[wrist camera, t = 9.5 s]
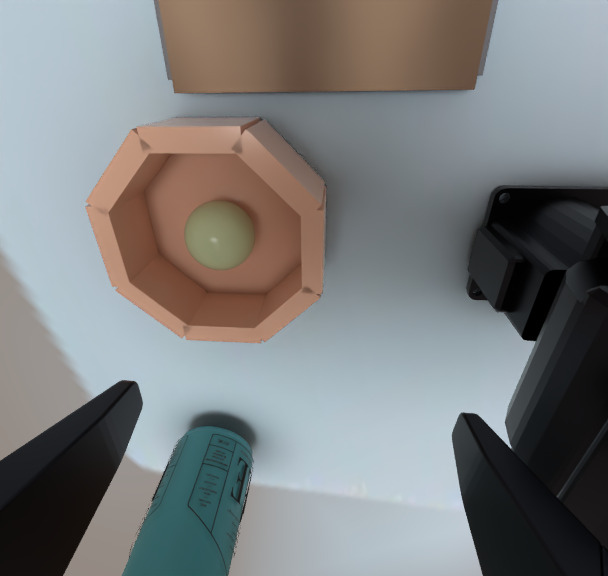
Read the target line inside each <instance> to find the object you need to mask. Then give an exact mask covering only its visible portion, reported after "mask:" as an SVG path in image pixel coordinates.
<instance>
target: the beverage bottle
mask: <svg viewBox="0 0 608 576" xmlns="http://www.w3.org/2000/svg"><path fill="white" fill-rule="evenodd" d="M178 441H179V440H178ZM178 441H177V442H178ZM175 447H176V446H175ZM172 455H173V456H172ZM170 456H171V458H170V459H171V460H170V461H168V464H166V465H167V466H166V469H165V471H163V473H164V474H163V476H162V478H161V480H160V483H159V485H158V487H157V490H156V492H155V494H154V497H153V498H152V501H153V503H152V505H151V507H150V510H149V512H148V514H147V517H146V519H145V521H144V522H143V526H142V528H141V529H140V533H139V535H138V537H137V540H136V541H135V545H134V547H133V549H132V552H131V555H130V556H129V560H128V562H127V565H126V567H125V569H124V572H123V574H122V576H228V574H229V569H230V565H231V560H232V555H233V553H234V546H235V542H236V537H237V532H238V528H239V525H240V522H241V519H242V515H243V514H244V509H245V505H246V499H247V495H248V491H247V494H246V490H247V486H248V481H249V476H250V474H251V467H252V466H253V465H252V462H253V463H254V461H253V457H252V450H251V448H250V446H249V444H248V443H247V442H246V441H245V440H244V439H243V438H242V437H240V436H239V435H237V434H236V433H234V432H232V431H229V430H226V429H223V428H219V427H211V426H204V427H198V428H194V429H192V430H190V431H188V432H187V433H186V434H185V435H184V436H183V437H182V438H181V440H180V441H179V442H178V444H177V447H176V449H175V450H174V448H173V454H171V455H170ZM169 462H170V463H169ZM252 468H253V467H252ZM252 471H253V469H252ZM251 476H252V475H251ZM250 481H251V478H250ZM249 485H250V482H249ZM248 490H249V487H248ZM245 497H246V499H245ZM244 500H245V503H244ZM243 504H244V507H243ZM148 509H149V508H148ZM242 509H243V510H242ZM234 554H235V553H234Z"/></svg>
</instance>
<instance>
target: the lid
mask: <svg viewBox="0 0 608 576" xmlns="http://www.w3.org/2000/svg"><path fill="white" fill-rule="evenodd" d="M492 1H493V0H158V2H159V7H160V13H161V19H162V25H163V30H164V36H165V42H166V47H167V53H168V59H169V64H170V70H171V76H172V81H173V87H174V93H230V92H313V91H396V90H474V89H475V84H476V79H477V74H478V70H479V65H480V60H481V55H482V50H483V45H484V40H485V35H486V31H487V26H488V21H489V16H490V11H491V6H492Z"/></svg>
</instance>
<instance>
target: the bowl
mask: <svg viewBox="0 0 608 576" xmlns="http://www.w3.org/2000/svg"><path fill="white" fill-rule="evenodd" d="M324 184H325V181H324V180H323V179H322V178H321V177H320V176H319V175H318V174H317V173H316V172H315V171H314V170H313V169H312V168H311V167H310V166H309V165H308V163H307V162H306V161H305V160H304V159H303V158H302V157H301V156H300V155H299V154H298V153H297V152H296V151H295V150H294V149H293V148H292V147H291V146H290V145H289V144H288V143H287V142H286V141H285V139H284V138H283V137H282V136H281V135H280V134H279V133H278V132H277V131H276V130H275V129H274V128H273V127H272V126H271V125H270V124H269V123H268V122H267V121H266V120H265V119H264V120H262V121H260V117H176V118H171V119H167V120H163V121H159V122H154V123H150V124H146V125H142V126H138V127H137V128H135V129H131V131H130V133H129V134H128V136H127V137H126V139H125V140H124V142H123V144H122V145H121V147H120V148H119V150H118V151H117V153H116V155H115V156H114V158H113V159H112V161H111V162H110V164H109V166H108V167H107V169H106V170H105V172H104V173H103V175H102V177H101V178H100V180H99V181H98V183H97V184H96V186H95V188H94V189H93V191H92V192H91V194H90V195H89V197H88V199H87V200H86V202H87V203H88V204H89V205H88V206H86V210H87V213H88V216H89V219H90V222H91V225H92V228H93V231H94V234H95V237H96V240H97V243H98V246H99V249H100V252H101V255H102V258H103V261H104V264H105V267H106V270H107V273H108V275H109V278H110V281H111V284H112V287H118V288H117V289H116V290H115V291H117V292H118V293H119V294H121V295H122V296H124V297H125V298H126V299H128V300H129V301H131V302H132V303H133V304H135V305H136V306H138V307H139V308H140V309H142V310H143V311H145V312H146V313H147V314H149V315H150V316H152V317H153V318H154V319H156V320H157V321H159V322H160V323H161V324H163V325H164V326H165V327H167V328H168V329H170V330H171V331H172V332H174V333H175V334H177V335H178V336H179V337H181V338H183V337H184V336H185V337H186V340H202V341H223V342H245V343H261V341H262V340H263V341H264V342H266V341H267V340H268V339H269V338H271V337H272V336H273V335H274V334H276V333H277V332H278V331H279V330H281V329H282V328H283V327H284V326H286V325H287V324H288V323H289V322H291V321H292V320H293V319H294V318H296V317H297V316H298V315H299V314H301V313H302V312H303V311H304V310H306V309H307V308H308V307H309V306H311V305H312V304H313V303H314V302H316V301H317V300H318V299H319V298H320V296H321V294H322V292H323V279H324V266H325V239H326V192H327V186H324Z"/></svg>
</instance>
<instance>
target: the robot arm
mask: <svg viewBox="0 0 608 576" xmlns="http://www.w3.org/2000/svg"><path fill="white" fill-rule="evenodd" d="M504 193H507V196H506V198H505V199H504V200H502V201H499V197H500V196H501V195H502V194H504ZM468 271H469V273H470V278H469V282H468V286H467V293H468V295H469V297H470V298H471V299H474V300H488V301H489V302H490V304H491V305H492V307H493V308H494V309H495V310H496V311H497V312H502V313H505V315H506V316H507V318H508V319H509V320H510V322H511V323H512V325H513V326H514V327H515V329H516V330H517V332H518V333H519V334H520V336H521V337H522V338H523V340H527V341H536V343H535V345H534V348H533V350H532V352H531V355H530V357H529V359H528V362H527V364H526V366H525V369H524V371H523V373H522V376H521V378H520V380H519V383H518V385H517V387H516V390H515V392H514V394H513V397H512V399H511V401H510V404H509V406H508V410H507V415H506V419H505V425H506V429H507V433H508V437H509V442H510V444H511V446H512V448H511V449H510V448H509V447H508V445H507V444H506V443H505V442H504V441H503V440H502V439H501V438H500V437H499V436H498V435H497V434H496V433H495V432H494V431H493V430H492V429H491V428H490V427H489V426H488V425H487V424H486V423H485V422H484V420H483V419H482V418H481V417H480V416H478V415H477V414H474V413H464V412H463V413H461V414H460V415H459V417H458V419H457V422H456V424H455V427H454V429H453V432H452V442H453V448H454V454H455V460H456V466H457V473H458V479H459V485H460V491H461V496H462V500H463V504H464V508H465V512H466V516H467V519H468V523H469V527H470V530H471V534H472V537H473V541H474V545H475V549H476V552H477V556H478V559H479V563H480V567H481V570H482V574H483V576H608V187H559V186H501V187H498V188H497V189H495V190H494V191H493V193H492V195H491V198H490V202H489V206H488V209H487V213H486V217H485V221H484V225H483V226H481V227H480V228H479V229H478V231H477V235H476V239H475V243H474V247H473V251H472V254H471V258H470V262H469V266H468ZM476 289H480V290H479V291H478V292H476V293H473V292H474V290H476ZM142 406H143V401H142V397H141V393H140V390H139V386H138V384H137V383H136V382H135V381H127V380H122V381H119V382H118V383H116V384H115V385H113V386H112V387H110V388H109V389H107V390H106V391H104V392H103V393H101V394H100V395H98V396H97V397H95V398H94V399H92V400H91V401H89V402H88V403H87V404H85V405H83V406H82V407H80V408H79V409H77V410H76V411H74V412H73V413H71V414H70V415H68V416H67V417H65V418H64V419H62V420H61V421H59V422H58V423H56V424H55V425H53V426H52V427H50V428H49V429H47V430H46V431H44V432H43V433H41V434H40V435H38V436H37V437H35V438H34V439H32V440H31V441H29V442H28V443H26V444H25V445H23V446H22V447H20V448H19V449H17V450H16V451H14V452H13V453H11V454H10V455H8V456H7V457H5V458H4V459H2V460H1V461H0V576H63V574H64V573H65V571H66V569H67V567H68V565H69V563H70V561H71V559H72V557H73V555H74V553H75V551H76V549H77V547H78V545H79V543H80V541H81V539H82V537H83V535H84V534H85V532H86V530H87V528H88V526H89V524H90V522H91V520H92V518H93V516H94V514H95V512H96V510H97V508H98V506H99V504H100V502H101V500H102V498H103V496H104V494H105V492H106V491H107V489H108V486H109V485H110V483H111V481H112V479H113V477H114V475H115V473H116V471H117V469H118V467H119V465H120V463H121V461H122V458H123V456H124V453H125V451H126V448H127V446H128V443H129V441H130V438H131V436H132V433H133V430H134V428H135V425H136V423H137V420H138V418H139V415H140V413H141V410H142Z"/></svg>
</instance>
